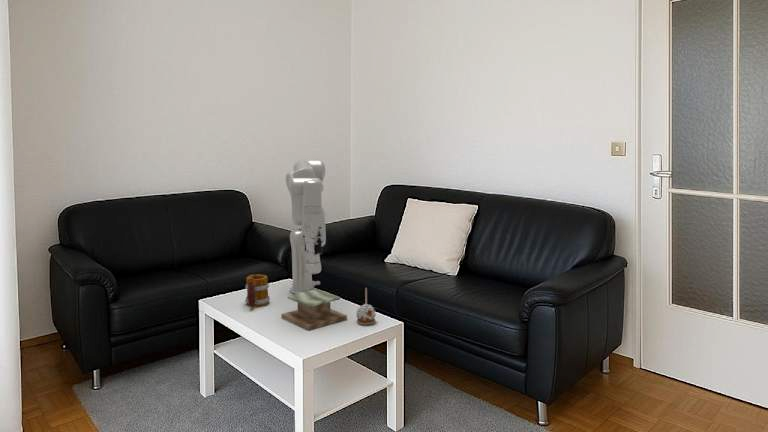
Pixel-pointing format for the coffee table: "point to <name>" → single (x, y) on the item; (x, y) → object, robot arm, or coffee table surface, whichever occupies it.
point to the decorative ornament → (366, 313)
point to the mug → (257, 291)
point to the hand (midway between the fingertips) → (313, 251)
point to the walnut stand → (313, 310)
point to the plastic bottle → (312, 257)
